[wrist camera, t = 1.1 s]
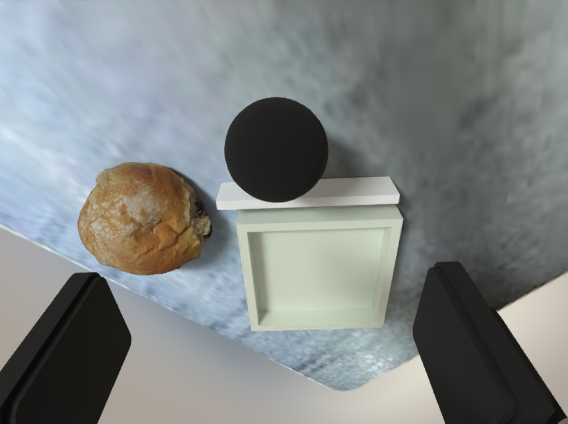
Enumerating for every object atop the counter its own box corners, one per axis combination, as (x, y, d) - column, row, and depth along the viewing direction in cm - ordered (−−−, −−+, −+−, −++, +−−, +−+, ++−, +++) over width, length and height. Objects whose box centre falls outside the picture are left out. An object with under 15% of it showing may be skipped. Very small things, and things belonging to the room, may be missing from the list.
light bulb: (278, 164, 27) (276, 240, 19) (222, 113, 25) (192, 175, 17) (333, 113, 25) (358, 174, 17) (277, 53, 23) (274, 88, 15)
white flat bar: (389, 176, 28) (399, 194, 26) (388, 184, 29) (398, 203, 26) (221, 182, 28) (215, 201, 26) (223, 190, 29) (217, 210, 26)
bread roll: (150, 130, 30) (65, 143, 23) (239, 202, 29) (179, 237, 22) (119, 212, 34) (41, 243, 27) (195, 276, 33) (134, 325, 26)
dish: (394, 202, 30) (403, 218, 27) (377, 308, 37) (382, 327, 35) (239, 208, 30) (236, 224, 28) (253, 312, 37) (251, 331, 35)
